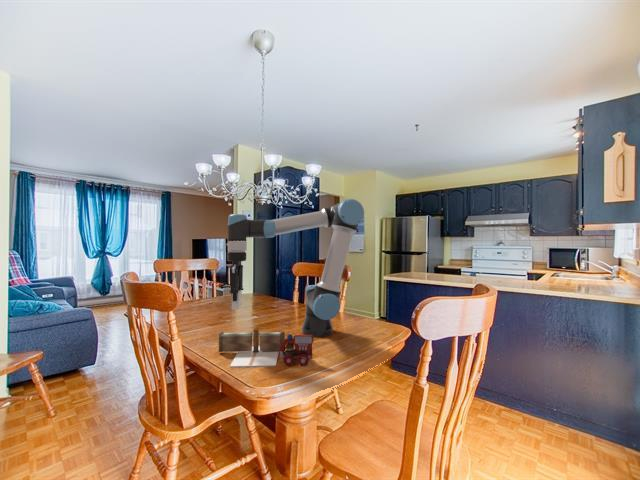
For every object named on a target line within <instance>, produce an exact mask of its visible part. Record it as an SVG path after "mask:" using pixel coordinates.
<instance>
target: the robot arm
mask: <svg viewBox="0 0 640 480" xmlns="http://www.w3.org/2000/svg"><path fill="white" fill-rule="evenodd" d="M364 217H365V209H364V207H363V205H362V203H361V202H359V201H358V200H357V199H354V198H348V199H343V200H342V201H340V202H337V203H336V204H333V205H331V206H328V207H324V208H322V209H321V210H319V211H314V212H307V213H303V214H298V215H297V214H296V215H292V216H287V217H286V216H285V217H280V218H274V219H248V218H247V215H246V214H241V213H239V214H237V213H234V214H233V213H232V214H229V215H228V219H227V221H228V222H227V243H226V246H227V251H228V252H227V261H228V262H232V265H231V266H230V268H229V270H230V271H229V272H230V290H229V294H231V310H239V308H240V307H242V298H243V297H242V291H244V288H243V287H244V286H243V282H244V280H243V279H244V276H243V273H244V271H243V270H244V265H242V262H245V261H247V252H246V251H247V238H256V239H257V238H258V239H264V238H265V239H269V238H274V237H276V236H279V235H283V234H285V235H286V234H289V233H295V232H299V231H305V230H310V229H316V228H320V227H321V228H322V227H325V228H331V227H332V229H333V231H332V232H333V233H332V236H331V240H330V244H329V247H328V251H327V255H326V259H325V263H324V266H323V269H322V274H321V278H320V281H319V282H318V283H316V284H311V285H307V286H306V287H305V317H304V321H303V324H302V327H301V332H302V333H301V334H302V335H313V337H315V338H316V337H317V338H318V337H326V336H330V335H332V334H333V333H334V327H333V324H332V320H333V319H334V318H335V317H336V316H338V314H339V312H340V310H341V301H340V297H341V294H342V290H341V288H340V283H341V279H342V277H343V274H344V273H343V272H344V269H345V264H346V261H347V256H348V253H349V250H350V245H351V242H352V241H351V240H352V237H353V235H354V234H356V233H357V231H358V227H359V224H360V223H362V221H363V220H364Z"/></svg>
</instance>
